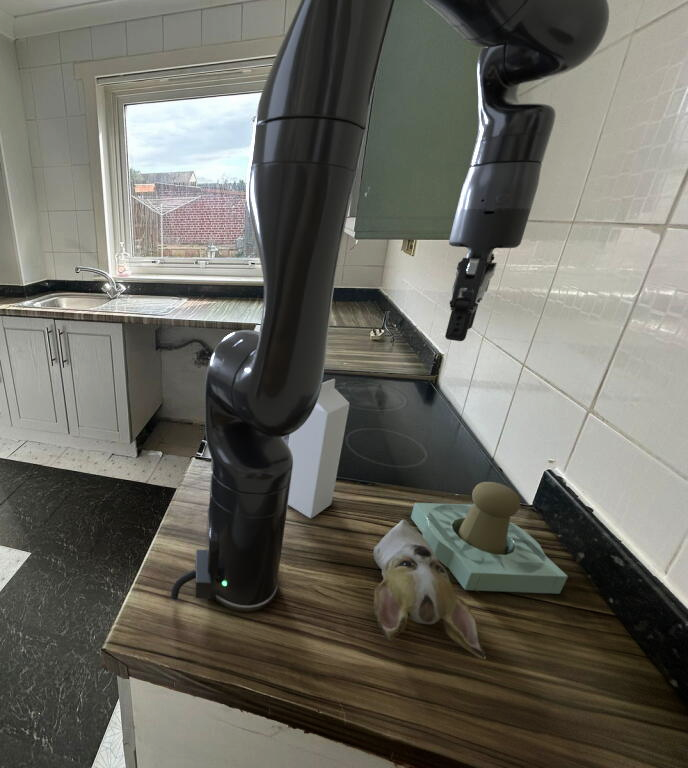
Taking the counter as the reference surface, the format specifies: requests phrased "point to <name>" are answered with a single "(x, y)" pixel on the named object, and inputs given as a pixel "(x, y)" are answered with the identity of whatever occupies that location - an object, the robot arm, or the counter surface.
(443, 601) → the dog head figure
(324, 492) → the milk
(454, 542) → the plate
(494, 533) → the cork
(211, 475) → the robot arm
